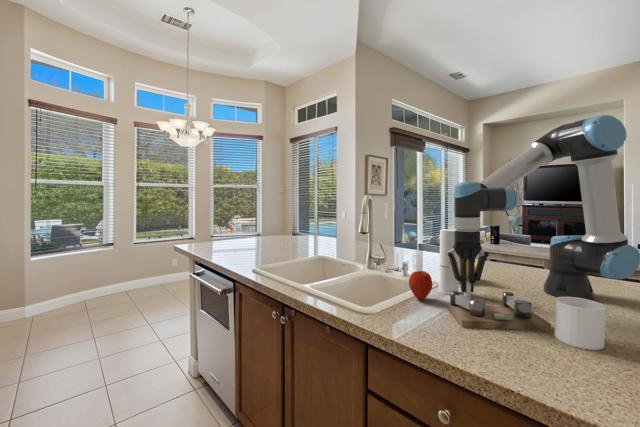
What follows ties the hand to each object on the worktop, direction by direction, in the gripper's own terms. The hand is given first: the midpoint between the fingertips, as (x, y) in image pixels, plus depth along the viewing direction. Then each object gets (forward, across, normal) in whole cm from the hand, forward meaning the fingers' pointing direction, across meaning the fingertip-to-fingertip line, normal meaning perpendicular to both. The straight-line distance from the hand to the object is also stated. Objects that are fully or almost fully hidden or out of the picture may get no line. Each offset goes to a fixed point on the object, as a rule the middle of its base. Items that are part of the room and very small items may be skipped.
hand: (467, 301), depth 100 cm
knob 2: (+2, -14, +2) cm, 14 cm away
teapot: (+4, -12, -42) cm, 43 cm away
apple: (+4, +12, -13) cm, 18 cm away
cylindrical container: (+4, -1, -23) cm, 23 cm away
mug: (+4, -23, +16) cm, 28 cm away
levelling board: (+4, -7, +4) cm, 9 cm away
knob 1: (+1, +1, +3) cm, 3 cm away
